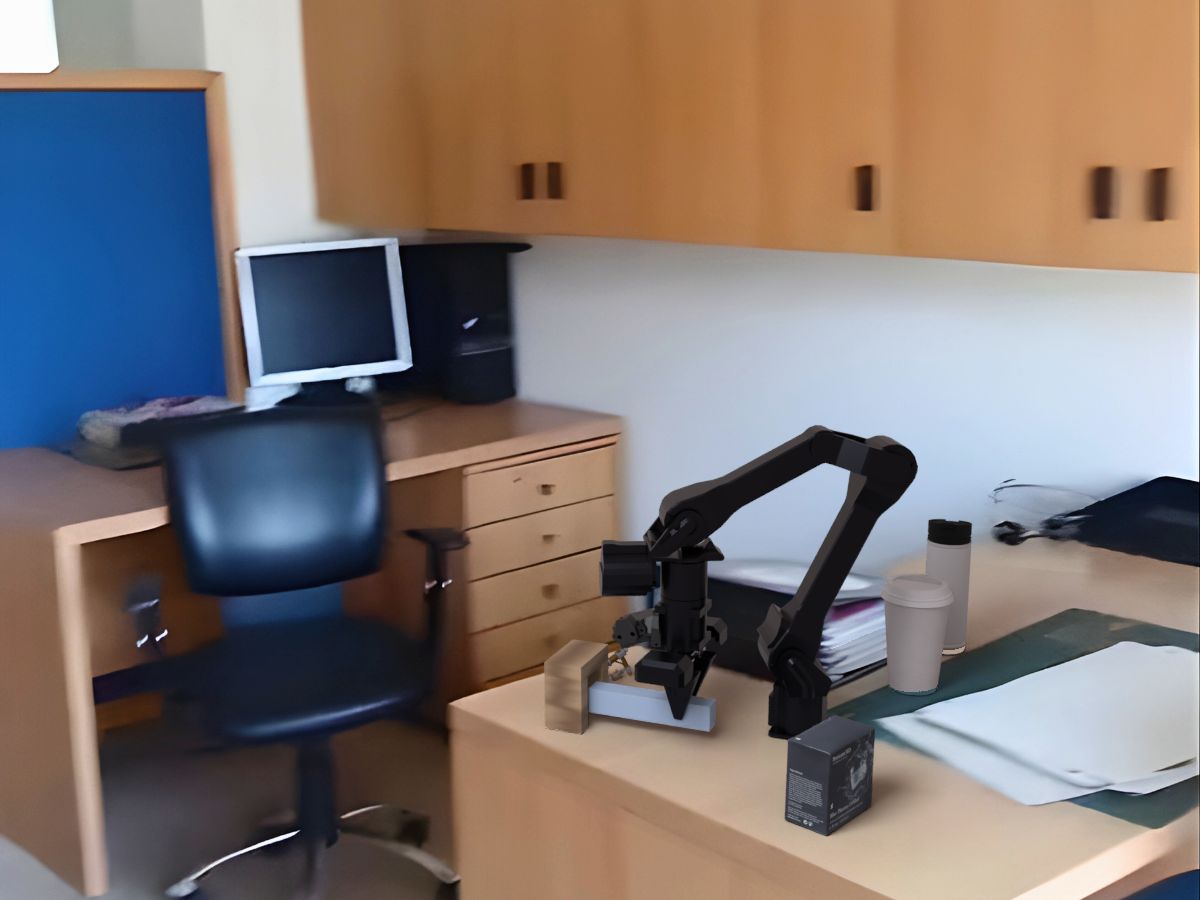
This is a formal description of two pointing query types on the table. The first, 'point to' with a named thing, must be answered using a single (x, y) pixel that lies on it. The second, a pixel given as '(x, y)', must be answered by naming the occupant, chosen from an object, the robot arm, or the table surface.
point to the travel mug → (951, 572)
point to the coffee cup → (915, 629)
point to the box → (829, 774)
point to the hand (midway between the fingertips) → (681, 714)
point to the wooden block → (573, 683)
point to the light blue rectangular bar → (649, 706)
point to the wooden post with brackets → (619, 655)
